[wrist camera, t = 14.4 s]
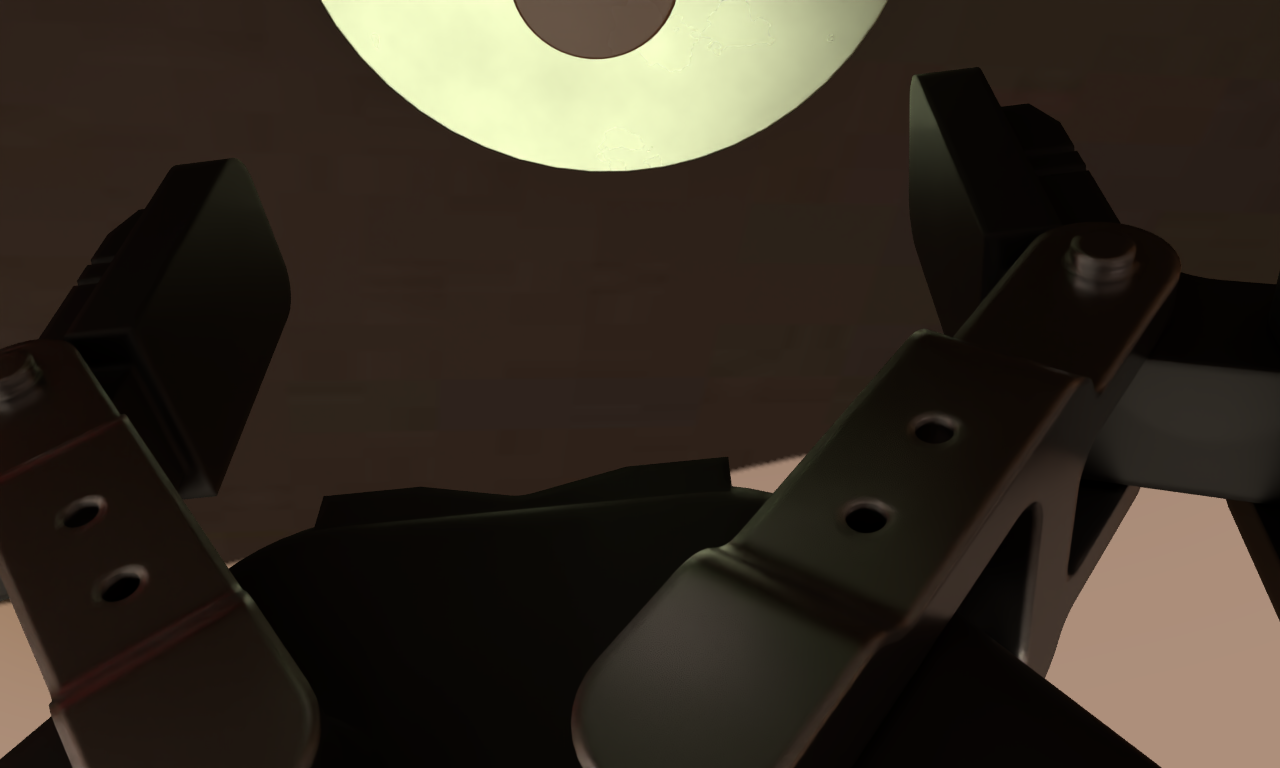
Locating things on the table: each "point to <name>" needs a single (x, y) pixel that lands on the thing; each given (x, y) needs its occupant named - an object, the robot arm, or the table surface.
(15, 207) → the table surface
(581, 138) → the lid
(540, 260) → the table surface
